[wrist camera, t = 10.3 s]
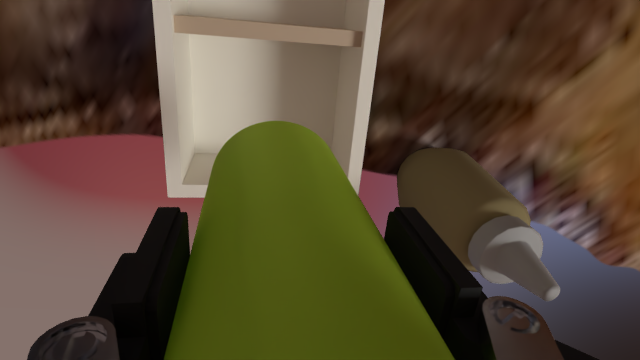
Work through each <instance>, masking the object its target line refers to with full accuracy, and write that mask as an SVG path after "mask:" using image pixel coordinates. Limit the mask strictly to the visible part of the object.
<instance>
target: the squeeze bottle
mask: <svg viewBox="0 0 640 360" xmlns="http://www.w3.org/2000/svg"><path fill="white" fill-rule="evenodd" d="M397 187H398V198H399V205H400V207H414V208H416V209H417V211H418V212H419V213H420V214H421V215H422V216H423V218H424V219H425V220H426V221H427V222H428V224H429V225H430V226H431V227H432V228H433V229H434V231H435V232H436V233H437V234H438V235H439V236H440V238H441V239H442V240H443V241H444V242H445V244H446V245H447V246H448V247H449V248H450V249H451V251H452V252H453V253H454V254H455V255H456V256H457V258H458V259H459V260H460V261H461V262H462V264H463V265H464V266H465V267H466V268H467V269H468V271H473V272H479V273H480V274H481V275H482V276H483V277H484V278H485V279H487V280H488V281H490V282H491V283H498V284H505V283H510V282H516V283H517V284H519V285H521V286H522V287H524V288H525V289H527V290H529V291H530V292H532V293H533V294H535V295H537V296H538V297H540V298H542V299H543V300H545V301H551V300H553V299H555V298H556V297H557V296H558V295H559V293H560V287H559V286H558V284H557V283H556V281H555V280H554V279H553V277H552V276H551V274H550V273H549V272H548V270H547V269H546V267H545V266H544V265H543V263H542V262H541V260H540V257H541V256H542V249H543V242H542V239H541V235H540V234H539V233H538V232H537V231H535V230H534V229H533V228H532V227H531V226H530V222H531V220H530V217H529V214H528V211H527V208H526V207H525V206H524V205H523V204H522V203H521V202H519V201H518V200H517V199H516V198H515V197H514V196H513V195H512V194H511V193H510V192H508V191H507V190H506V189H505V188H504V187H503V186H502V185H501V184H500V183H499V182H498V181H496V180H495V179H494V178H493V177H492V176H491V175H490V174H489V173H488V172H487V171H485V170H484V169H483V168H482V167H481V166H480V165H479V164H478V163H477V162H476V161H474V160H473V159H472V158H471V157H470V156H469V155H468V154H466V153H465V152H463V151H459V150H455V149H450V148H426V149H420V150H418V151H416V152H414V153H412V154H411V155H409V156H408V157H407V158H406V159H405V161H404V162H403V163H402V164H401V166H400V169H399V171H398V174H397Z"/></svg>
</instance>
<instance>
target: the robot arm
mask: <svg viewBox="0 0 640 360" xmlns="http://www.w3.org/2000/svg"><path fill="white" fill-rule="evenodd" d="M384 240H385V242H386V244H387V246H388V247H389V249H390V251H391V252H392V254H393V256H394V257H395V259H396V261H397V262H398V264H399V266H400V268H401V269H402V271H403V273H404V274H405V276H406V278H407V279H408V281H409V283H410V284H411V286H412V288H413V290H414V291H415V293H416V295H417V296H418V298H419V300H420V301H421V303H422V305H423V306H424V308H425V310H426V312H427V313H428V315H429V317H430V318H431V320H432V322H433V323H434V325H435V327H436V328H437V330H438V332H439V333H440V335H441V337H442V339H443V340H444V342H445V344H446V345H447V347H448V349H449V350H450V352H451V354H452V355H453V357H454V359H455V360H599V359H597V358H594V357H592V356H590V355H588V354H586V353H583V352H581V351H579V350H576V349H574V348H572V347H570V346H568V345H565V344H563V343H561V342H558V341H556V340H554V338H553V336H552V334H551V332H550V330H549V328H548V326H547V324H546V322H545V320H544V319H543V317H542V316H541V315H540V314H539V313H538V312H537V311H536V310H534V309H533V308H531V307H530V306H528V305H527V304H525V303H523V302H520V301H518V300H515V299H512V298H509V297H503V296H495V297H490V298H487V296H486V295H485V294H484V293H483V292H482V288H483V287H482V286H481V285H480V284H479V282H478V281H477V280H476V279H475V278H474V277H473V275H472V274H471V273H470V272H469V271H468V269H467V268H466V267H465V266H464V265H463V264H462V262H461V261H460V260H459V259H458V258H457V256H456V255H455V254H454V253H453V252H452V251H451V249H450V248H449V247H448V246H447V245H446V244H445V242H444V241H443V240H442V239H441V238H440V236H439V235H438V234H437V233H436V232H435V231H434V229H433V228H432V227H431V226H430V225H429V224H428V222H427V221H426V220H425V219H424V218H423V216H422V215H421V214H420V213H419V212H418V211H417V209H416V208H414V207H396V208H395V210H394V212H390V213H389V215H388V220H387V226H386V231H385V237H384ZM189 258H190V247H189V230H188V216H187V213H186V212H180V208H179V207H158V209H157V211H156V213H155V215H154V217H153V219H152V221H151V223H150V225H149V227H148V229H147V231H146V233H145V235H144V237H143V239H142V241H141V243H140V246H139V248H138V250H137V252H136V253H124V254H122V256H121V257H120V258H119V261H118V262H117V264H116V266H115V268H114V270H113V272H112V273H111V275H110V277H109V279H108V281H107V283H106V284H105V286H104V288H103V290H102V292H101V293H100V295H99V297H98V299H97V301H96V303H95V304H94V306H93V308H92V310H91V312H90V314H89V316H85V317H80V318H74V319H71V320H68V321H65V322H63V323H60V324H58V325H56V326H55V327H53V328H51V329H49V330H48V331H47V332H45V333H44V334H43V335H42V336H40V337H39V338H38V339H37V341H36V342H35V343H34V344H33V345H32V347H31V349H30V352H29V355H28V359H27V360H164V356H165V352H166V349H167V345H168V341H169V337H170V333H171V329H172V325H173V321H174V317H175V313H176V309H177V305H178V301H179V297H180V293H181V289H182V285H183V281H184V277H185V274H186V270H187V266H188V262H189Z"/></svg>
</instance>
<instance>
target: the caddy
mask: <svg viewBox="0 0 640 360" xmlns="http://www.w3.org/2000/svg"><path fill="white" fill-rule="evenodd" d="M384 2H385V0H152V5H153V18H154V30H155V43H156V55H157V68H158V80H159V92H160V105H161V117H162V130H163V142H164V155H165V167H166V179H167V191H168V197H205V195H206V191H207V187H208V183H209V179H210V175H211V171H212V167H213V164H214V161H215V159H216V156H217V154H218V153H219V151H220V149H221V148H222V147H223V145H224V144H225V143H226V142H227V141H228V140H229V139H230V138H231V137H232V136H233V135H235V134H236V133H238V132H239V131H241V130H242V129H244V128H246V127H249V126H251V125H254V124H257V123H261V122H266V121H287V122H292V123H296V124H299V125H301V126H304V127H306V128H308V129H310V130H311V131H313V132H314V133H316V134H317V135H318V136H320V137H321V138H322V139H323V140H324V141H325V142H326V144H327V145H328V146H329V148H330V149H331V151H332V153H333V154H334V156H335V158H336V159H337V161H338V163H339V164H340V166H341V168H342V169H343V171H344V173H345V175H346V176H347V178H348V180H349V181H350V183H351V185H352V186H353V188H354V190H355V191H356V193H357V195H358V193H359V187H360V179H361V172H362V165H363V157H364V150H365V142H366V135H367V128H368V120H369V113H370V106H371V98H372V91H373V83H374V76H375V69H376V61H377V54H378V46H379V39H380V32H381V24H382V17H383V10H384Z"/></svg>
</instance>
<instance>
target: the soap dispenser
mask: <svg viewBox="0 0 640 360" xmlns="http://www.w3.org/2000/svg"><path fill="white" fill-rule="evenodd" d="M164 360H455V359H454V357H453V355H452V354H451V352H450V350H449V349H448V347H447V345H446V344H445V342H444V340H443V339H442V337H441V335H440V333H439V332H438V330H437V328H436V327H435V325H434V323H433V322H432V320H431V318H430V317H429V315H428V313H427V312H426V310H425V308H424V306H423V305H422V303H421V301H420V300H419V298H418V296H417V295H416V293H415V291H414V290H413V288H412V286H411V284H410V283H409V281H408V279H407V278H406V276H405V274H404V273H403V271H402V269H401V268H400V266H399V264H398V262H397V261H396V259H395V257H394V256H393V254H392V252H391V251H390V249H389V247H388V246H387V244H386V242H385V240H384V239H383V237H382V235H381V234H380V232H379V230H378V229H377V227H376V225H375V224H374V222H373V220H372V218H371V217H370V215H369V213H368V212H367V210H366V208H365V207H364V205H363V204H362V202H361V200H360V198H359V197H358V195H357V193H356V191H355V190H354V188H353V186H352V185H351V183H350V181H349V180H348V178H347V176H346V175H345V173H344V171H343V169H342V168H341V166H340V164H339V163H338V161H337V159H336V158H335V156H334V154H333V153H332V151H331V149H330V148H329V146H328V145H327V144H326V142H325V141H324V140H323V139H322V138H321V137H320V136H318V135H317V134H316V133H314V132H313V131H311V130H310V129H308V128H306V127H304V126H301V125H299V124H296V123H292V122H287V121H266V122H261V123H257V124H254V125H251V126H249V127H246V128H244V129H242V130H241V131H239V132H238V133H236V134H235V135H233V136H232V137H231V138H230V139H229V140H228V141H227V142H226V143H225V144H224V145H223V147H222V148H221V149H220V151H219V153H218V154H217V156H216V159H215V161H214V164H213V167H212V171H211V175H210V179H209V183H208V187H207V191H206V195H205V199H204V202H203V206H202V210H201V215H200V218H199V222H198V226H197V230H196V234H195V238H194V242H193V246H192V250H191V254H190V258H189V262H188V266H187V270H186V274H185V277H184V281H183V285H182V289H181V293H180V297H179V301H178V305H177V309H176V313H175V317H174V321H173V325H172V329H171V333H170V337H169V341H168V345H167V349H166V352H165V356H164Z"/></svg>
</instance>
